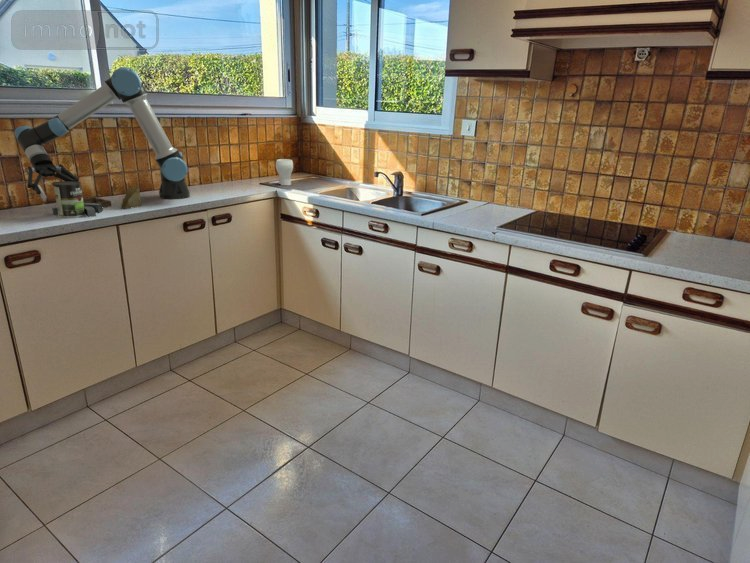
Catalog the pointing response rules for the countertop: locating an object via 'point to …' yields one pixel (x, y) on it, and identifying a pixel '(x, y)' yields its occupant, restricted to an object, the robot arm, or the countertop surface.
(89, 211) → the dark grey branched bar
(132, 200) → the rock
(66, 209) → the coffee can
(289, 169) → the cup
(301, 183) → the countertop surface
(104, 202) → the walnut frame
